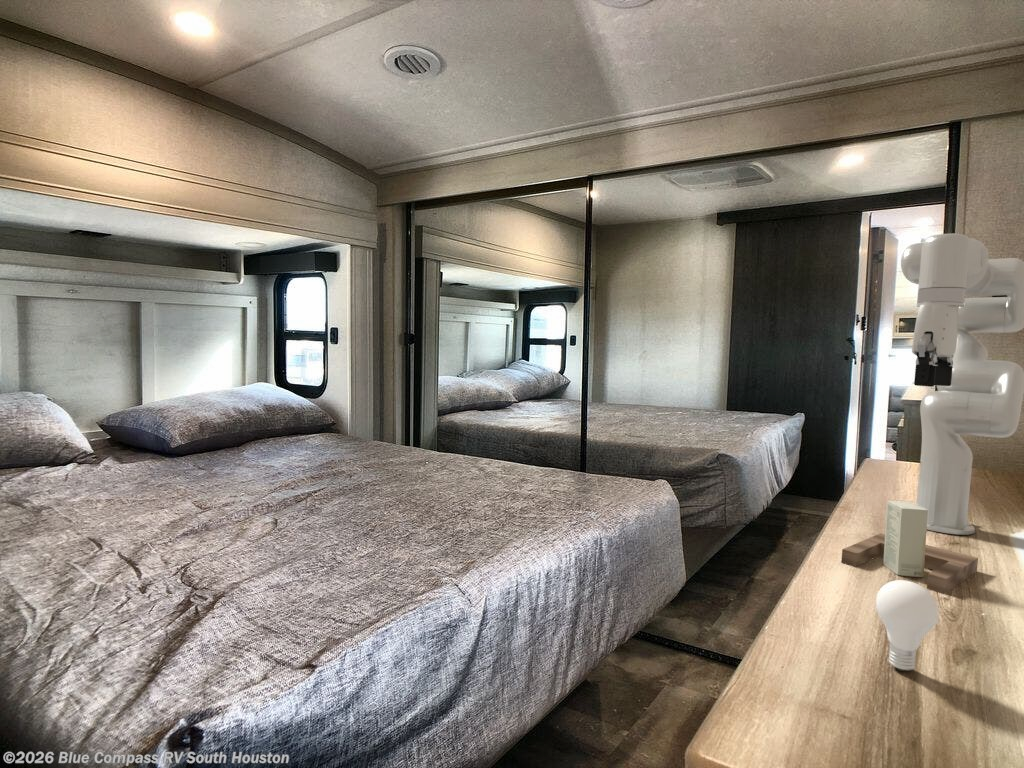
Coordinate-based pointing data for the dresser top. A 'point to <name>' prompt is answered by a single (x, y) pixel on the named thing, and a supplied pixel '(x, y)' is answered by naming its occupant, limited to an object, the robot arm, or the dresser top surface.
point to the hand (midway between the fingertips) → (932, 385)
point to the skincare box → (905, 538)
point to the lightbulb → (905, 619)
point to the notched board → (944, 563)
